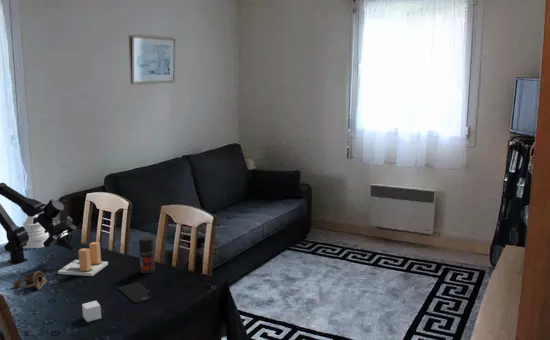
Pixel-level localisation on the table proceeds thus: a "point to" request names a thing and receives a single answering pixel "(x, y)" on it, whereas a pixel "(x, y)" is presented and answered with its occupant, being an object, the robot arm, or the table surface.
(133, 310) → the table surface
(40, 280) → the brown ringed piece
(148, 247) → the deodorant
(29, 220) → the honey pot
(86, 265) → the tab
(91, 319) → the white cube
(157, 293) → the table surface
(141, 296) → the cell phone
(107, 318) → the table surface
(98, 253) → the tab
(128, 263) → the table surface
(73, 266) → the switch bank
